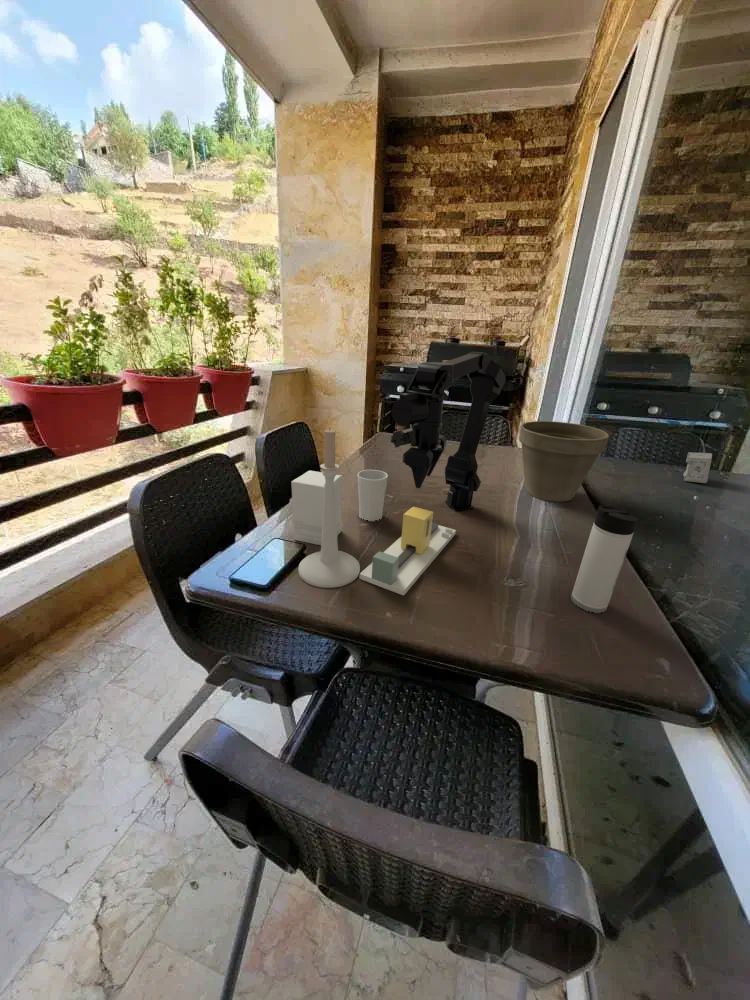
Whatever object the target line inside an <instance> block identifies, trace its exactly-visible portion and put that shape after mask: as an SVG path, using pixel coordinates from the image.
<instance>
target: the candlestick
mask: <svg viewBox="0 0 750 1000" xmlns="http://www.w3.org/2000/svg"><path fill="white" fill-rule="evenodd" d="M323 439H324V441H323V442H324V444H323V446H324V448H323V451H324V452H323V453H324V457H323V458H324V460H323V461H324V462H323V463H322V464H320V465H319V467H320V469H322V473H323V476H325V480H326V481H325V484H324V505H323V524H322V543H321V545H320V550H319V551H316V552H313V553H310V554H309V555H307V556H306V557H304V558H303V559H302V560H301V561H300V563H299V564H298V569H297V570H298V575H299V577H300V579H301V580H303V581H304V582H305V583H307V584H308V585H310V586H312V587H317V588H323V589H324V588H327V589H328V588H331V589H332V588H338V587H343V586H345V585H348V584H350V583H352V582H354V581H355V580H356V579H357V578H358V577H359V576H360V573H361V572H360V571H361V565H360V562H359V561H358V560H357V558H355V557H354V556H353V555H351V554H349V553H348V552H344V551H341V550H339V548H338V547H339V544H338V536H337V522H336V500H335V483H334V478H335V476H336V475H338V472H337V470H338V469H339V468H340V465H339V464H337V463H336V430H334V429H331V428H330V427H329V429H325V430H324V431H323Z"/></svg>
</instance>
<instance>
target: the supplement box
mask: <svg viewBox="0 0 750 1000" xmlns="http://www.w3.org/2000/svg"><path fill="white" fill-rule="evenodd" d="M325 481H326V480H325V476H323V471H322V472H320V471H315V470H307V471H306V472H304V473H303V474H302V475H300V476H297V478H295V479H293V480H291V482H290V483H291V484H290V485H291V498H292V499H291V501H292V502H291V505H292V518H293V519H292V521H293V539H294V541H299V542H303V543H308V544H314V545H316V546H321V543H322V524H323V505H324V484H325ZM334 483H335V500H336V522H337V537H338V536H339V534H340V533H341V532H342V529H343V523H342V521H343V519H342V518H343V515H342V514H343V513H342V512H343V500H342V499H343V475H342V474H337V475H336V476H335V478H334Z"/></svg>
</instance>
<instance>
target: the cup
mask: <svg viewBox="0 0 750 1000" xmlns="http://www.w3.org/2000/svg"><path fill="white" fill-rule="evenodd" d="M388 477H389V475H388V473H387V472H385V471H383V470H378V469H363V470H361V471H358V473H357V492H358V511H359V512H358V516H359V518H360V519H361V518H362V519H361V520H363V519H364V520H363V521H366V520H368V521H367V522H376V521H375V520H377V521H380V520H382V518H383V510H384V503H385V496H386V489H387V484H388ZM379 519H380V520H379Z"/></svg>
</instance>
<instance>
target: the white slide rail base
mask: <svg viewBox="0 0 750 1000" xmlns="http://www.w3.org/2000/svg"><path fill="white" fill-rule="evenodd" d="M456 533H457V530H456V529H454V528H450V527H447V526H443V525H440V524H439V523H435V522H432V528H431V536H430V545H429V546H428V547H427V548H426V549H425V550H424V552H423V553H422V554H418V553H415V552H416V547H415V546H412V545H409V546H408V547H407V548H406V549H402V548H401V537H402V535H401V536H400V537H399V538H398V539H397V540H395V541H394V542H393V543H391V545H390V546H389V547H387V548H386V549H385V550H384V551H383V552H382V551H380V550H379V551H377V552H376V553H375V554H374V555H373V556H372V562H371V563H370V564H369V565H367V566H366V568H364V569H363V570H362V571H361V572H360V573H359V580H362V581H364V582H367V583H369V584H372V585H376V586H378V587H381V588H383V589H385V590H387V591H390V592H393V593H396V594H399V595H401V596H405V595H406V593H408V591H409V590H410V589H411V588H412V586H413V585H414V584H415V583H416V582H417V580H418V579H420V577H421V575H423V573H424V572H425V571H426V569H428V567H429V566H431V564H432V563H433V562H434V560H435V559H436V558H437V557H438V555H439V554H440V553H441V552H442V550H444V548H445V547H446V546H447V545H448V544H449V542H450V541H451V540H452V539H453V538H454V537H455V535H456Z"/></svg>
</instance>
